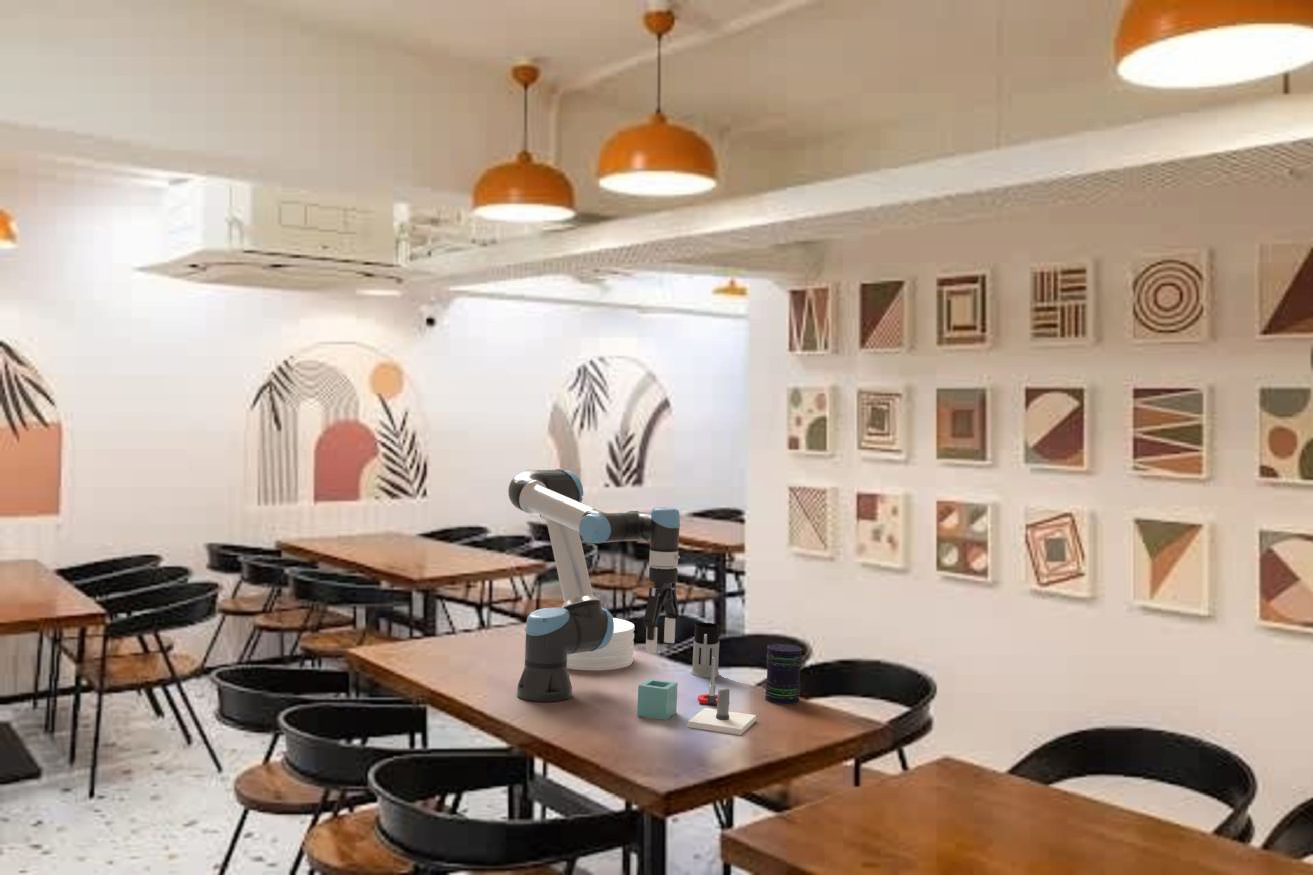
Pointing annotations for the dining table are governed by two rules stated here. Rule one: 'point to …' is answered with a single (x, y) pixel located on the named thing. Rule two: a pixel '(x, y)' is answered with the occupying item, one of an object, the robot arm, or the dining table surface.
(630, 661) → the plate stack
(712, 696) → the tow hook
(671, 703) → the sleeve
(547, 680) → the robot arm
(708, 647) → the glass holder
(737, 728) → the post stand
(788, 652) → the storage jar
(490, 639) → the dining table surface
